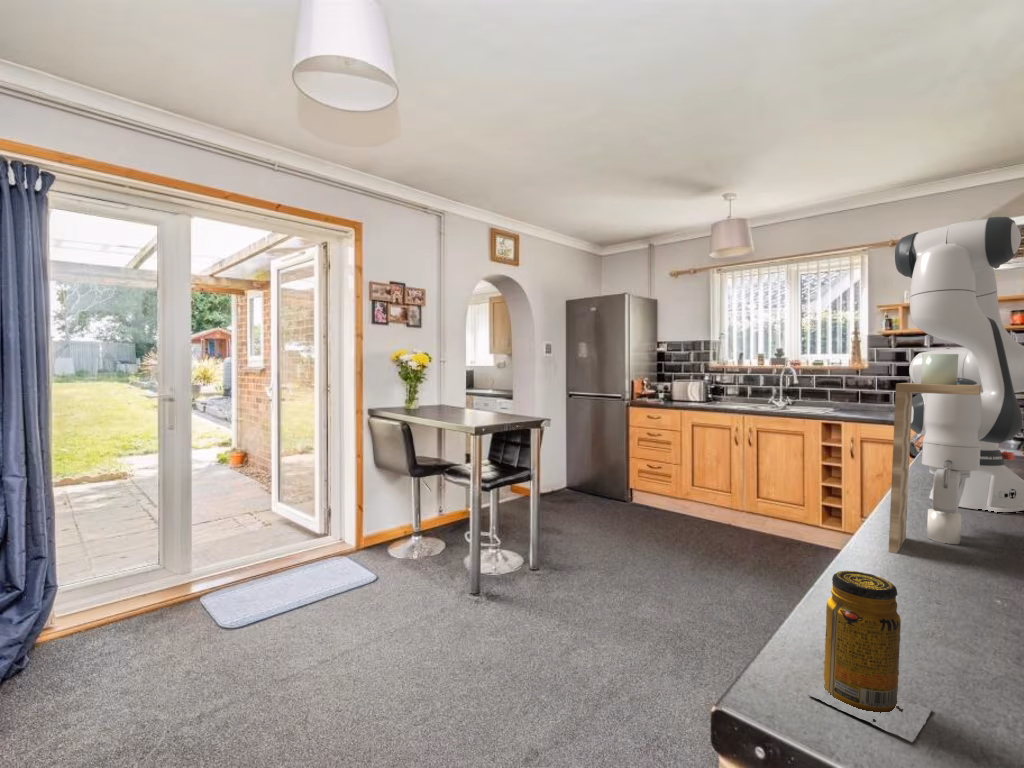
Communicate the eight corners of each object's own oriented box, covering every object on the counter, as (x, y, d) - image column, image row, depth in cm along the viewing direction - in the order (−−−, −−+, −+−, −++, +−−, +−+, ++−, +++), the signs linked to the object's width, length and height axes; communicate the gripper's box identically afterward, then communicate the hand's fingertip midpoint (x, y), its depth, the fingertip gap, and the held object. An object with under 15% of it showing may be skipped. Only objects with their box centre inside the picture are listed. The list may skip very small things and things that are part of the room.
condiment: (834, 670, 55) (838, 561, 55) (933, 712, 49) (939, 588, 49) (806, 697, 51) (811, 578, 50) (912, 747, 44) (918, 610, 44)
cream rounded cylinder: (941, 534, 103) (943, 508, 103) (967, 543, 98) (968, 515, 98) (920, 535, 102) (921, 509, 102) (944, 544, 97) (945, 516, 97)
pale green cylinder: (939, 384, 95) (940, 355, 95) (964, 385, 90) (966, 354, 90) (913, 383, 95) (915, 354, 95) (938, 384, 90) (939, 353, 90)
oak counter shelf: (898, 536, 102) (905, 382, 101) (972, 551, 94) (980, 385, 93) (888, 551, 93) (896, 383, 92) (969, 568, 85) (978, 386, 84)
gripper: (969, 467, 93) (965, 542, 94) (972, 454, 108) (969, 519, 109) (924, 462, 98) (921, 534, 98) (934, 450, 112) (931, 513, 113)
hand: (946, 526), depth 103 cm, fingers closed
